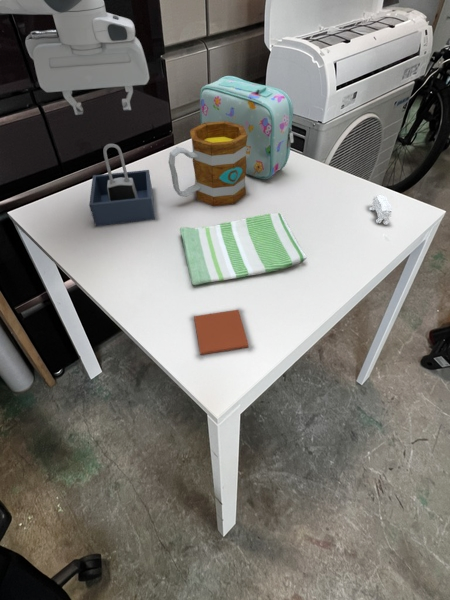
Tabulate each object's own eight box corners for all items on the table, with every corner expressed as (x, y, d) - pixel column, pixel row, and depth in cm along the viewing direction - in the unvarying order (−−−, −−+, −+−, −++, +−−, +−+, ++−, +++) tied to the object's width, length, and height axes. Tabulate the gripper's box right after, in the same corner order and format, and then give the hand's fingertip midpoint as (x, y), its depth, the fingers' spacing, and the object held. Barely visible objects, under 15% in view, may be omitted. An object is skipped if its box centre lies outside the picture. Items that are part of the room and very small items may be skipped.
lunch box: (295, 173, 101) (306, 86, 86) (272, 188, 96) (279, 98, 80) (222, 145, 114) (221, 65, 98) (199, 157, 109) (193, 74, 93)
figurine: (377, 226, 84) (383, 208, 81) (367, 206, 89) (372, 189, 86) (388, 225, 84) (394, 208, 81) (377, 206, 89) (383, 188, 86)
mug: (228, 174, 101) (227, 116, 91) (257, 196, 93) (260, 135, 83) (163, 194, 95) (154, 135, 84) (187, 220, 87) (181, 158, 76)
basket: (95, 226, 86) (89, 205, 81) (98, 195, 95) (92, 175, 91) (155, 219, 87) (151, 198, 83) (152, 189, 96) (148, 169, 92)
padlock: (139, 198, 92) (126, 138, 81) (139, 208, 89) (126, 146, 79) (111, 201, 92) (95, 141, 81) (111, 211, 89) (93, 149, 78)
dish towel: (179, 233, 83) (178, 223, 81) (279, 219, 86) (280, 208, 84) (192, 288, 71) (191, 277, 69) (308, 268, 74) (310, 258, 72)
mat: (200, 354, 60) (200, 352, 60) (194, 318, 66) (194, 316, 65) (248, 347, 61) (248, 345, 61) (238, 311, 67) (238, 309, 66)
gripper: (17, 36, 61) (48, 122, 72) (141, 27, 64) (154, 112, 74) (24, 27, 66) (52, 110, 76) (140, 20, 68) (153, 101, 78)
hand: (103, 111), depth 75 cm, fingers open, 8 cm apart
